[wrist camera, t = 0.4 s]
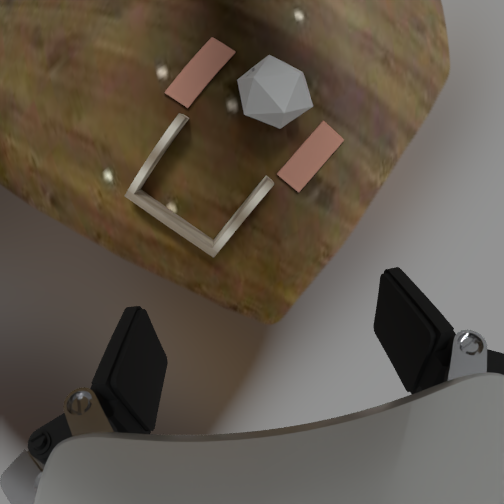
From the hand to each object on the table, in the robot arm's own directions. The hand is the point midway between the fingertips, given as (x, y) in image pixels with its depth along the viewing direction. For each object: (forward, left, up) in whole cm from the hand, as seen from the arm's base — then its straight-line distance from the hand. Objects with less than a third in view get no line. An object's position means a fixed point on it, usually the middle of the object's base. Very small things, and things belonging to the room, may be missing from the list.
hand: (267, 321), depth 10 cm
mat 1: (-8, -14, -30) cm, 34 cm away
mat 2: (-8, +5, -30) cm, 31 cm away
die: (-11, -4, -30) cm, 32 cm away
